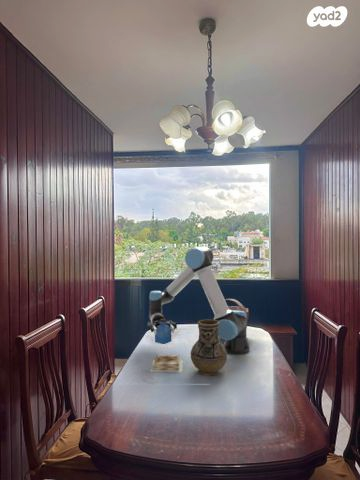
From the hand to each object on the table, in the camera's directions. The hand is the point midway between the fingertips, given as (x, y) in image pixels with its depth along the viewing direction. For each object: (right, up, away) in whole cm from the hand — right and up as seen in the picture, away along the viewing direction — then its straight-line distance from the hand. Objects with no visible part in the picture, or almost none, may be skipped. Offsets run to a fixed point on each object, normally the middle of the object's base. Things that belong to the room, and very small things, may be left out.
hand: (164, 330), depth 181 cm
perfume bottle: (-1, -7, +5) cm, 9 cm away
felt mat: (+1, -18, -2) cm, 18 cm away
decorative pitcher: (+22, -18, -9) cm, 30 cm away
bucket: (+43, -17, +48) cm, 67 cm away
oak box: (+1, -17, -2) cm, 18 cm away
